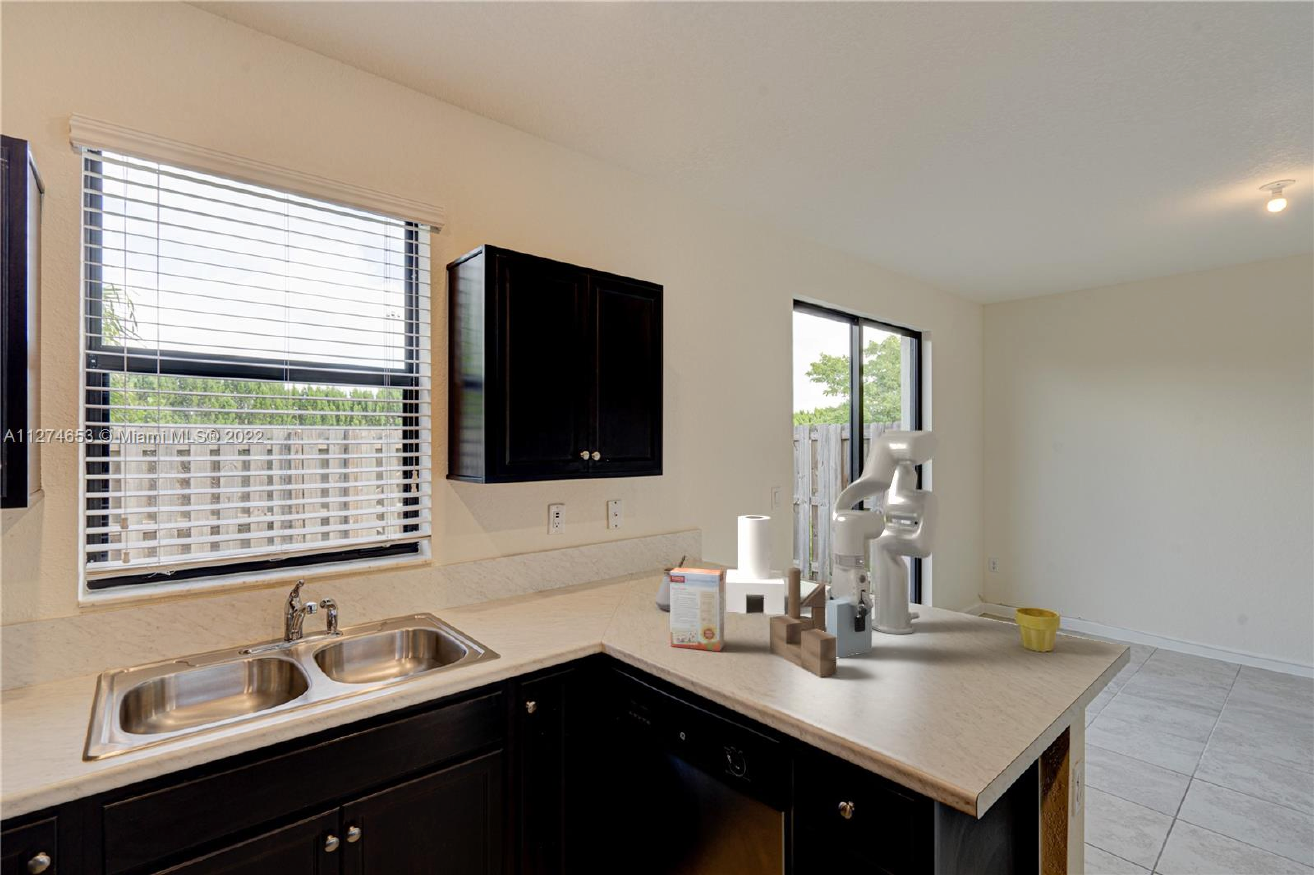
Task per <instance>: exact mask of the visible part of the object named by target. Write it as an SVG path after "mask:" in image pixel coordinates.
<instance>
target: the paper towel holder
mask: <svg viewBox="0 0 1314 875" xmlns="http://www.w3.org/2000/svg"><path fill="white" fill-rule="evenodd" d="M771 529H772V518H771V517H770V516H768V515H755V514H753V515H752V514H751V515H750V514H749V515H748V514H747V515H740V516H739V515H738V516H737V542H738V543H737V553H738V554H737V569H726V575H725V576H726V577H725V578H726V579H725V613H726V612H738V613H737V614H747V595H754V596H755V595H756V596H757V595H758V596H759V595H761V599H762V598H764V599H763V614H764V613H766V614H765V615H775V614H784V615H785V582H784V577H783V573H782V570H771V569H772V567H771V566H772V564H771V563H772V558H771V557H772V550H771V549H772V545H771V544H772V543H771V541H772V540H771V539H772V538H771V536H772V530H771Z"/></svg>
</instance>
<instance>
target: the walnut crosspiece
mask: <svg viewBox="0 0 1314 875" xmlns="http://www.w3.org/2000/svg"><path fill="white" fill-rule="evenodd" d="M769 652H771V653H773V654H775V655H776V656H778V657H781V659H782V658H783V659H784V660H786V661H788V662H790V663H791V664H793V663H794V665H796V666H798V667H799V668H801V667H802V668H801V669H803V670H805V671H807V672H809V673H810V672H811V674H812V675H814V676H816V677H818V676H819V678H820V677H821V678H825V677H829V676H833V675H837V658H836V637H835V636H833V635H831V634H828V633H827V631H825V632H823V631H821V630H819V629H813V630H807V631H802V622H800V621H798V620H795V619H793V618H791V617H788V615H785V614H784V615H776V616H770V617H769ZM824 676H825V677H824Z"/></svg>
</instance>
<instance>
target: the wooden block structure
mask: <svg viewBox="0 0 1314 875" xmlns="http://www.w3.org/2000/svg"><path fill="white" fill-rule="evenodd" d="M787 572H788V574H787V576H788V577H787V578H788V583H787V585H788V587H787V588H788V590H787V592H788V596H787V597H788V598H787V599H788V600H787V601H788V602H787V604H788V610H787V611H788V612H787V614H788V615H787V616H788V617H791V618H793V619H795V620H798V621H800V622H802V631H807V630H813V629H819V630H821V631H825V632H826V583H825V582H824V581H823V580H822V581H821V582H820V583H819V584H818V585H817V586H816V587H815V588H814V589H813V590H812V591H810V593H809V594H808V595H806V597H805V598H803V600H801V591H802V590H801V586H802V585H801V582H802V581H801V574H802V573H801V572H802V571H801V569H800V568H798V567H797V568H795V567H791V568H788V569H787ZM801 608H810V611H811V612H810V615H811V616H806V615H801Z"/></svg>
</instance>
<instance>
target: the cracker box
mask: <svg viewBox="0 0 1314 875" xmlns="http://www.w3.org/2000/svg"><path fill="white" fill-rule="evenodd" d="M674 568H675V569H674V570H672V571H670V611H669V613H670V615H669V618H670V619H669V620H670V621H669V622H670V623H669V624H670V626H669V628H670V630H669V632H670V634H669V635H670V647H673V648H676V647H677V648H685V649H693V650H702V651H712V652H720V651H721V650H722V649H723V647H724V646H725V593H724V592H725V591H724V590H725V587H724V586H725V585H724V583H725V582H724V579H725V578H724V570H722V569H720V570H719V569H718V570H717V569H703V568H690V567H681V568H678V567H674Z"/></svg>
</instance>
